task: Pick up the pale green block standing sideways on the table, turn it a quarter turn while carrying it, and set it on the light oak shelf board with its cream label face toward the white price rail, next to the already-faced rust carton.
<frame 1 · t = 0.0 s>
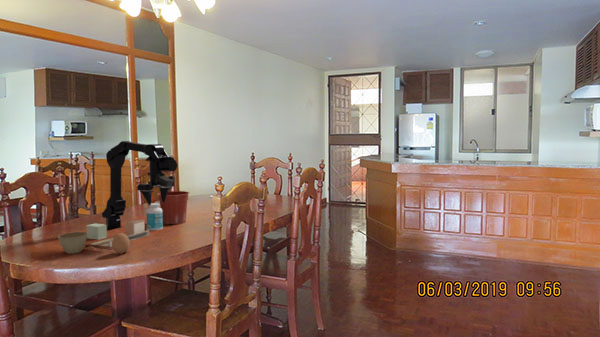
hand: (156, 203, 189), 15 cm above the table, fingers open, 9 cm apart
pale green block: (97, 240, 178), on the table
flower pot: (174, 222, 216), on the table
bowl: (73, 252, 160), on the table
pill bottle: (154, 231, 196), on the table
shelf: (120, 241, 175), on the table
carton: (135, 236, 181), point 1 cm above the table, touching shelf
egg: (121, 254, 158), on the table
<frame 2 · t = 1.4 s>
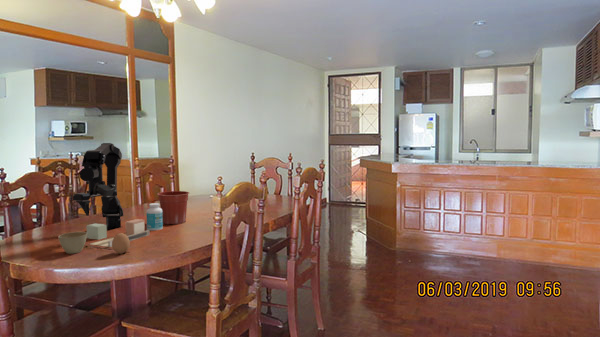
hand: (96, 213, 177), 12 cm above the table, fingers open, 9 cm apart
nothing on the table moved.
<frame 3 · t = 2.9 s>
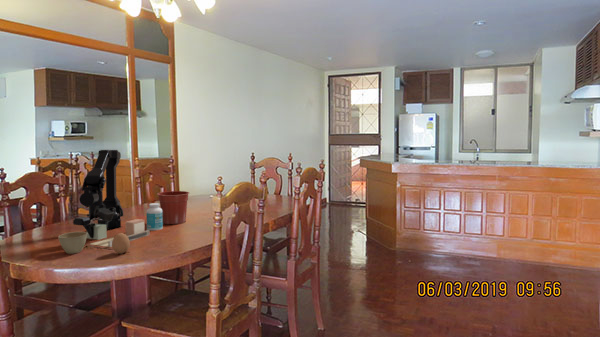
hand: (96, 236, 178), 2 cm above the table, fingers closed on pale green block, 5 cm apart
pale green block: (96, 240, 178), on the table, touching gripper
everything else where it was.
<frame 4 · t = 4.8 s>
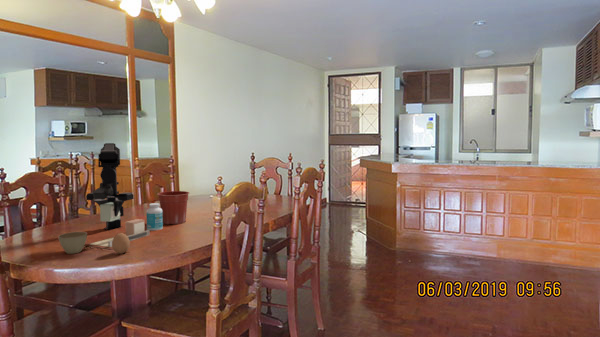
hand: (110, 216, 171), 12 cm above the table, fingers closed on pale green block, 5 cm apart
pale green block: (110, 219, 171), point 11 cm above the table, touching gripper
everything else where it was.
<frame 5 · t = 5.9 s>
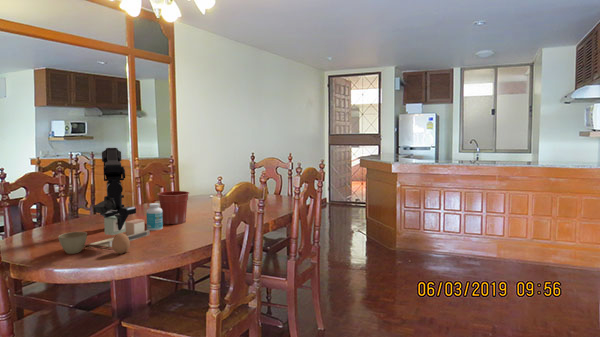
hand: (115, 229, 171), 7 cm above the table, fingers closed on pale green block, 5 cm apart
pale green block: (115, 232, 171), point 5 cm above the table, touching gripper
everything else where it was.
when the fingers open (4 cm above the table, at t = 6.8 s): pale green block stays where it is, resting on shelf.
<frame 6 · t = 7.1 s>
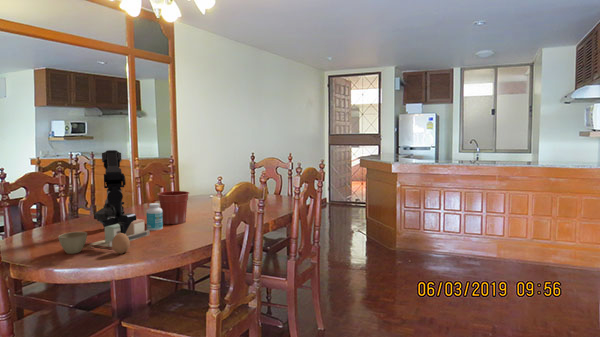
hand: (115, 236, 171), 4 cm above the table, fingers open, 8 cm apart
pale green block: (115, 241, 171), point 1 cm above the table, touching shelf
everything else where it was.
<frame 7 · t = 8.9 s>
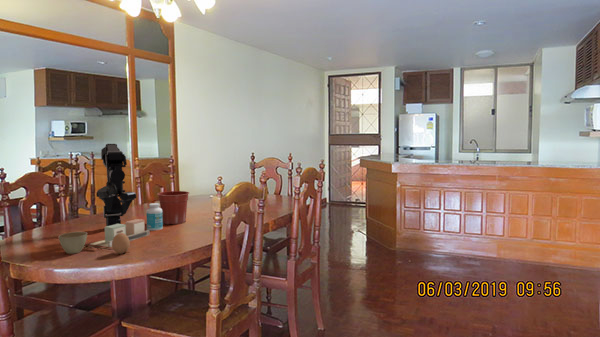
hand: (116, 213, 182), 11 cm above the table, fingers open, 9 cm apart
nothing on the table moved.
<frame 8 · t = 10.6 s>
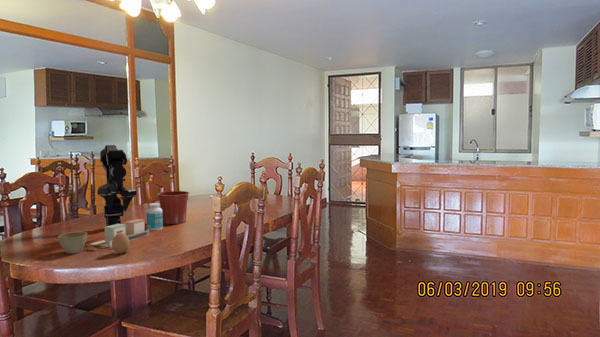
hand: (117, 210, 186), 12 cm above the table, fingers open, 9 cm apart
nothing on the table moved.
at the end: pale green block inside the target area on the shelf (0.2 cm from its centre), point 1.2 cm above the shelf's base; pale green block tilted 0°; the gripper is holding nothing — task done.
